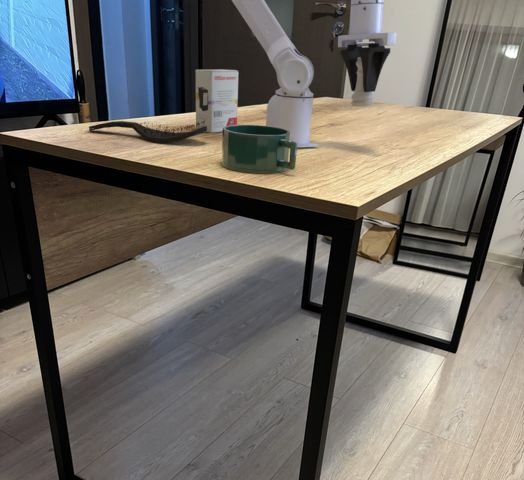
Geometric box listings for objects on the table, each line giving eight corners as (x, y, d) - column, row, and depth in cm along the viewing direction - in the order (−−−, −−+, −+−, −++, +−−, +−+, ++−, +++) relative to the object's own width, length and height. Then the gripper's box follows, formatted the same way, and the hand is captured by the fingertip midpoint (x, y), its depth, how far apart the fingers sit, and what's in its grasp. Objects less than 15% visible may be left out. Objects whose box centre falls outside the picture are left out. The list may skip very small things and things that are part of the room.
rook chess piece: (352, 106, 99) (354, 57, 95) (349, 104, 103) (350, 57, 99) (376, 105, 99) (379, 56, 95) (372, 103, 103) (375, 56, 99)
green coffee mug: (208, 163, 86) (208, 127, 83) (254, 157, 93) (256, 123, 90) (270, 180, 78) (272, 140, 76) (315, 172, 85) (319, 135, 82)
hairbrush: (100, 113, 109) (213, 118, 102) (102, 132, 111) (214, 139, 104) (75, 117, 102) (195, 123, 95) (78, 138, 104) (196, 145, 97)
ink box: (221, 126, 121) (223, 68, 115) (238, 130, 119) (240, 70, 113) (194, 129, 116) (194, 68, 110) (211, 133, 113) (211, 70, 107)
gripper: (413, 0, 89) (406, 91, 96) (360, 7, 100) (357, 88, 107) (379, 1, 86) (374, 94, 93) (329, 8, 98) (327, 90, 104)
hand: (363, 91), depth 100 cm, fingers closed on rook chess piece, 3 cm apart
